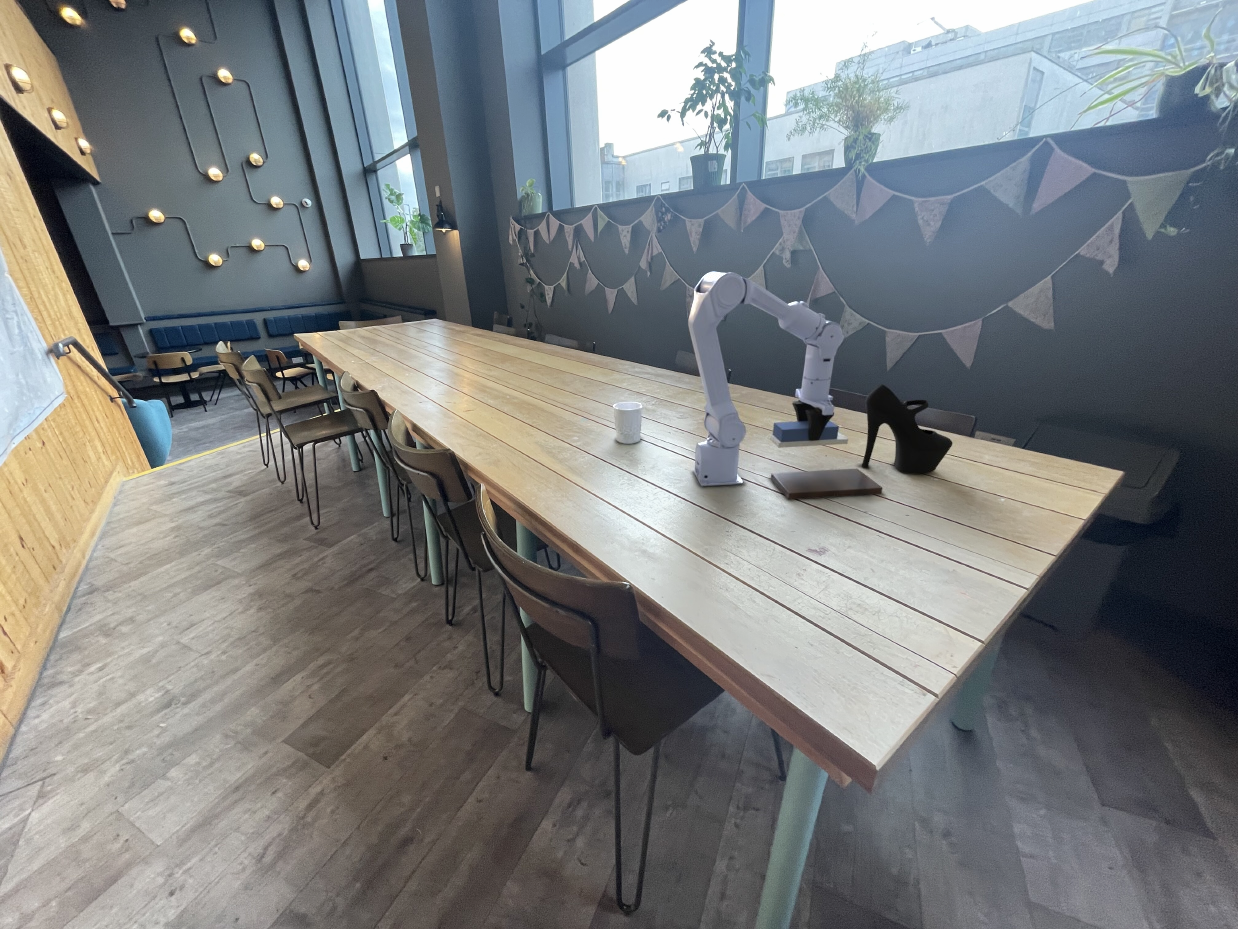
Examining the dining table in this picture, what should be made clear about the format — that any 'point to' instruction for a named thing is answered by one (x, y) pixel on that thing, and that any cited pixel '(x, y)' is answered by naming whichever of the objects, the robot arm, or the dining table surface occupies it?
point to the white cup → (628, 421)
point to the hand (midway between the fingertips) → (808, 435)
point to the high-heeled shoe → (904, 432)
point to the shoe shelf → (825, 483)
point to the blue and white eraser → (804, 435)
